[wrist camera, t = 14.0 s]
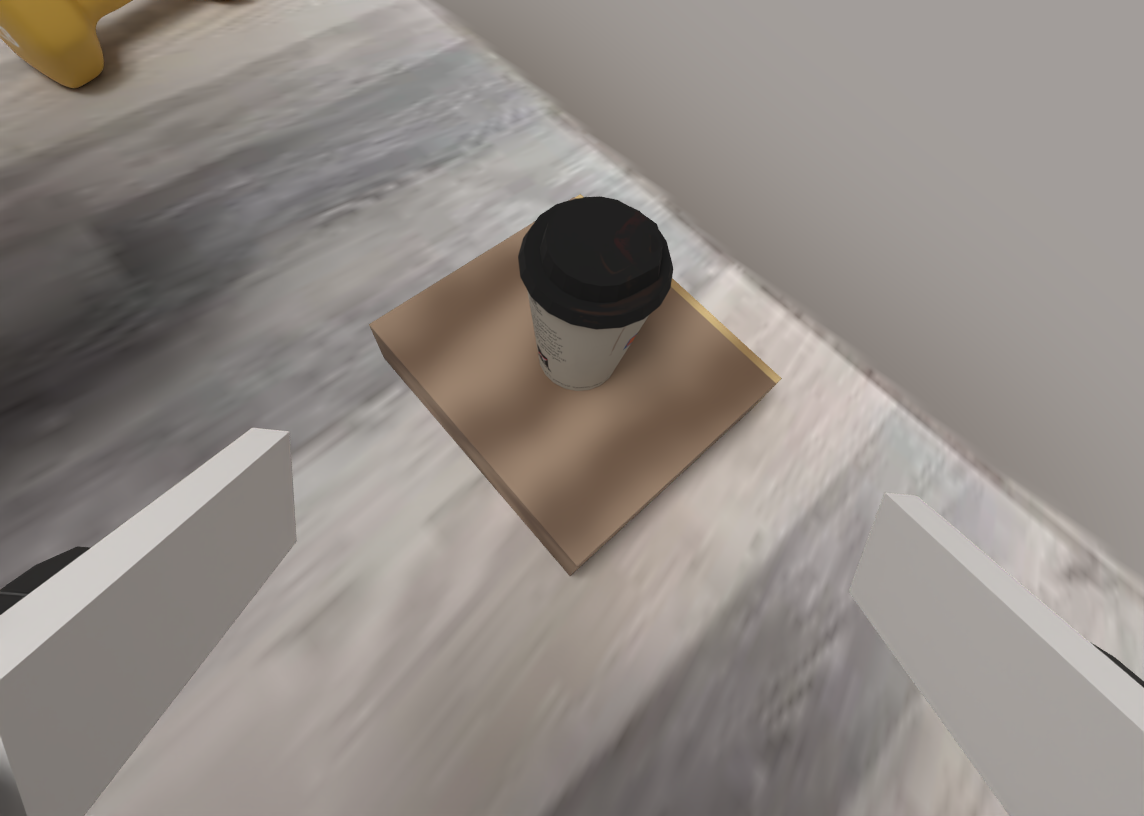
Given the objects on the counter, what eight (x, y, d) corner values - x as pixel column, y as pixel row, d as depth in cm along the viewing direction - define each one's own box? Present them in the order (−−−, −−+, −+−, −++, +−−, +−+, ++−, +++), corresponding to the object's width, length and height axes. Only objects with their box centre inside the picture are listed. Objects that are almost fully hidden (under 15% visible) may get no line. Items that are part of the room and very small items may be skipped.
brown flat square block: (383, 357, 36) (368, 324, 32) (574, 233, 41) (580, 193, 38) (570, 576, 31) (577, 566, 28) (755, 404, 37) (782, 377, 33)
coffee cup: (514, 406, 31) (512, 303, 22) (521, 301, 34) (522, 171, 25) (638, 413, 31) (687, 315, 22) (634, 309, 34) (677, 184, 25)
